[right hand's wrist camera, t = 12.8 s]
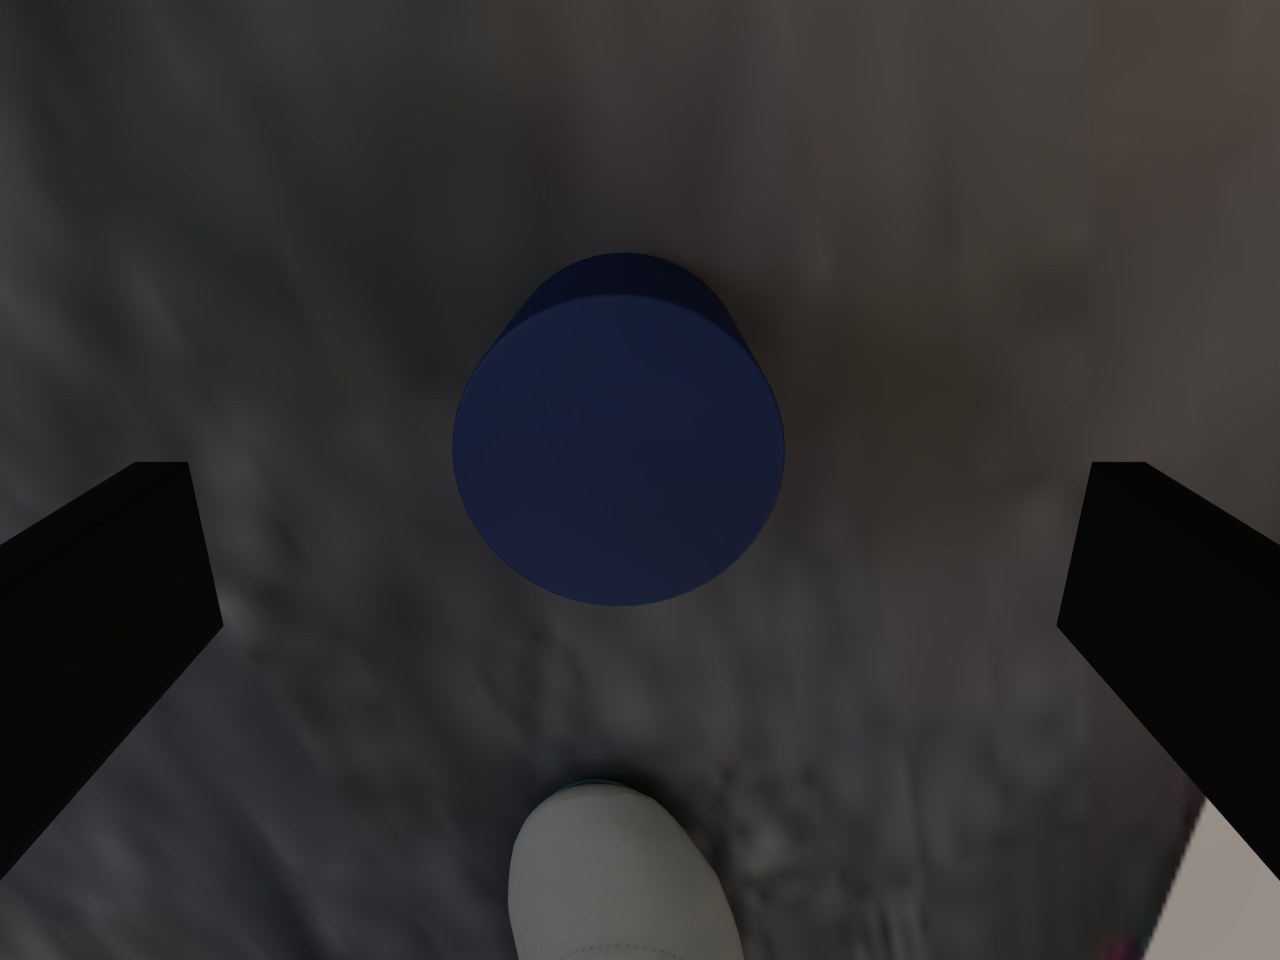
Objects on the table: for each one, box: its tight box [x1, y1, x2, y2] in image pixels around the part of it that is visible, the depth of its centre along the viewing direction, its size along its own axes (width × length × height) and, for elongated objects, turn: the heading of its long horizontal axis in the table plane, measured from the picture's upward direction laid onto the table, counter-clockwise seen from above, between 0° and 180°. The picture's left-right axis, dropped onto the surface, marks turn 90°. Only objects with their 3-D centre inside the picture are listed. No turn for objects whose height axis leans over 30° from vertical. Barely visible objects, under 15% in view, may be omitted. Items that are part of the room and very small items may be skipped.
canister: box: [452, 253, 785, 606], centre depth 21 cm, size 7×7×7 cm
